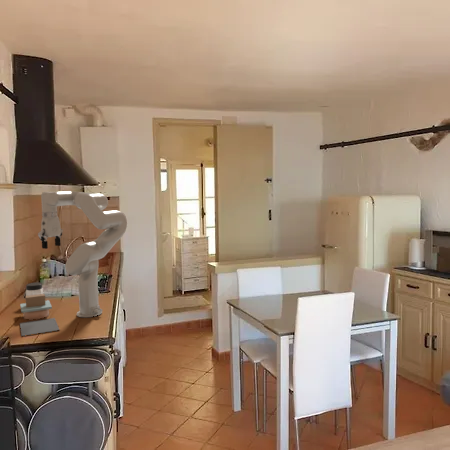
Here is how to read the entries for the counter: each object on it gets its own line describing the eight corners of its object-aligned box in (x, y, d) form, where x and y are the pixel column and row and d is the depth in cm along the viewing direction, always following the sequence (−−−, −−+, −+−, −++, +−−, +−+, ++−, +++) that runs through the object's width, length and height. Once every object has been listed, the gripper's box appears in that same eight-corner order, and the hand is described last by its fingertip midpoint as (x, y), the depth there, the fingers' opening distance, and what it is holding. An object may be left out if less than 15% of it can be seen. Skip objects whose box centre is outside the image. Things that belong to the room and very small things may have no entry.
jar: (23, 306, 251) (22, 285, 249) (34, 302, 258) (33, 281, 257) (36, 307, 247) (34, 286, 246) (47, 303, 255) (45, 283, 254)
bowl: (53, 315, 234) (53, 306, 234) (32, 321, 224) (32, 311, 224) (40, 311, 241) (39, 302, 240) (18, 317, 231) (18, 308, 230)
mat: (59, 330, 209) (59, 329, 209) (21, 336, 202) (21, 335, 202) (54, 319, 227) (54, 317, 227) (19, 324, 220) (19, 323, 220)
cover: (51, 308, 229) (51, 297, 228) (21, 312, 223) (20, 300, 222) (49, 302, 241) (48, 291, 241) (20, 305, 235) (19, 294, 234)
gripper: (43, 216, 230) (45, 250, 232) (66, 213, 246) (68, 245, 248) (32, 216, 232) (33, 249, 234) (55, 213, 248) (57, 244, 250)
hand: (51, 247), depth 241 cm, fingers open, 9 cm apart
